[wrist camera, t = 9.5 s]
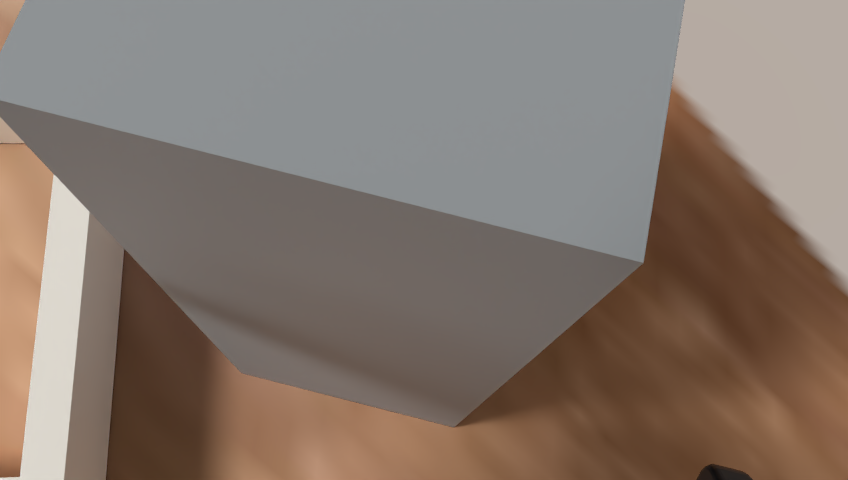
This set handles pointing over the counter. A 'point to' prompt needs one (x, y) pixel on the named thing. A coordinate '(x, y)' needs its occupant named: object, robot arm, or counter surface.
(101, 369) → the tray
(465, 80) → the slate block
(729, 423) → the counter surface
